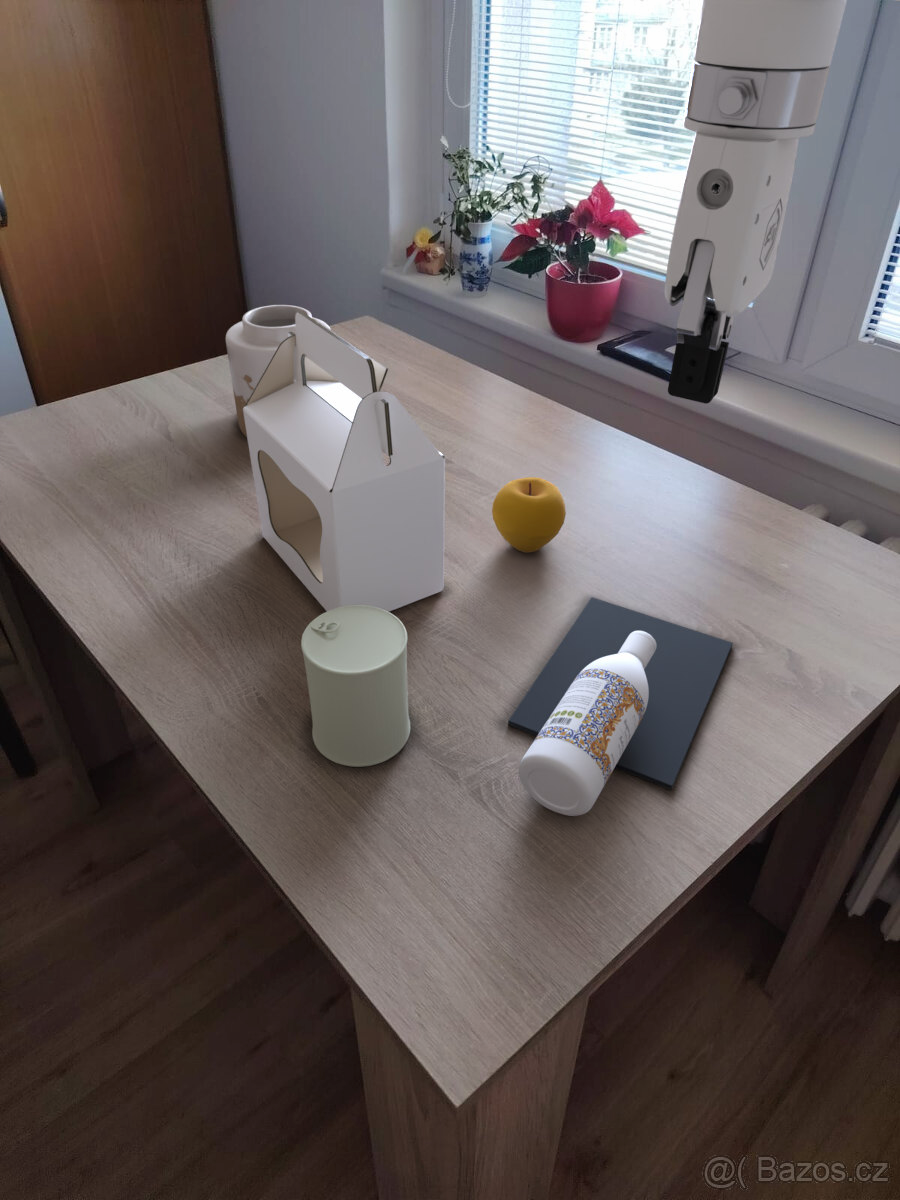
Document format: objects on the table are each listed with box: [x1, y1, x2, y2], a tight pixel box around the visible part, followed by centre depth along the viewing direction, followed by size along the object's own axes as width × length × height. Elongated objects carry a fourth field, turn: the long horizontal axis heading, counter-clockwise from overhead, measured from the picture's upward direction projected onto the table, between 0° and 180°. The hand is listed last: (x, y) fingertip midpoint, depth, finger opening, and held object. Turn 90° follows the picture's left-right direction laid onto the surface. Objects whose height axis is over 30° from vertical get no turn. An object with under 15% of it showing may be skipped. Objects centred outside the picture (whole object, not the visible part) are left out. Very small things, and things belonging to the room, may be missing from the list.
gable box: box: [243, 312, 446, 612], centre depth 91 cm, size 22×13×28 cm, turn 33°
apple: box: [491, 476, 567, 553], centre depth 100 cm, size 9×9×9 cm
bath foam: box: [518, 631, 657, 817], centre depth 75 cm, size 7×7×20 cm
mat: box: [507, 596, 734, 791], centre depth 83 cm, size 22×16×1 cm
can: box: [300, 605, 411, 768], centre depth 74 cm, size 9×9×12 cm
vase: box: [225, 304, 332, 438], centre depth 123 cm, size 15×15×17 cm
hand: (691, 395), depth 60 cm, fingers closed
